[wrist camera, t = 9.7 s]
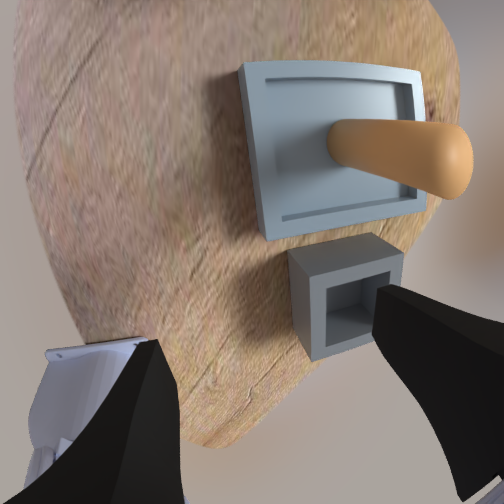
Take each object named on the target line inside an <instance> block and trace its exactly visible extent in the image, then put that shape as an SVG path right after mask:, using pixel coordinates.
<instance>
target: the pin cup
mask: <svg viewBox="0 0 504 504" xmlns="http://www.w3.org/2000/svg"><path fill="white" fill-rule="evenodd" d="M287 256H288V267H289V280H290V293H291V306H292V321H293V329H294V331H295V333H296V335H297V336H298V338H299V340H300V342H301V344H302V346H303V347H304V349H305V351H306V353H307V355H308V357H309V359H310V360H311V362H313V361H316V360H319V359H323V358H326V357H329V356H332V355H335V354H338V353H341V352H344V351H347V350H350V349H353V348H356V347H359V346H362V345H364V344H367V343H370V342H373V341H375V340H374V338H373V337H372V335H371V334H372V327H373V320H374V312H375V303H376V294H377V288H380V287H383V286H386V285H389V284H393V285H397V286H400V285H401V277H402V268H403V258H404V253H403V252H402V251H400V250H399V249H397V248H396V247H394V246H392V245H391V244H389V243H388V242H386V241H384V240H383V239H381V238H380V237H378V236H376V235H375V234H373V233H372V232H370V233H366V234H361V235H356V236H351V237H347V238H342V239H337V240H332V241H328V242H323V243H318V244H313V245H308V246H304V247H299V248H294V249H289V250H287Z"/></svg>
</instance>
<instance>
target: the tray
mask: <svg viewBox="0 0 504 504" xmlns="http://www.w3.org/2000/svg"><path fill="white" fill-rule="evenodd" d="M237 72H238V79H239V86H240V93H241V100H242V107H243V114H244V122H245V129H246V136H247V144H248V151H249V158H250V166H251V173H252V181H253V188H254V196H255V204H256V211H257V219H258V227H259V231H260V233H261V234H262V235H263V237H264V238H265V240H266V241H272V240H277V239H282V238H287V237H293V236H298V235H303V234H308V233H313V232H318V231H323V230H328V229H333V228H338V227H344V226H349V225H354V224H359V223H364V222H369V221H375V220H380V219H385V218H390V217H396V216H401V215H406V214H411V213H417V212H422V211H426V198H427V192H425V191H422V190H419V189H416V188H414V187H411V186H408V185H405V184H402V183H399V182H396V181H393V180H390V179H387V178H383V177H380V176H377V175H374V174H370V173H367V172H364V171H360V170H357V169H353V168H350V167H346V166H343V165H340V164H338V163H337V162H335V161H334V160H333V159H332V157H331V156H330V154H329V152H328V149H327V135H328V132H329V130H330V128H331V127H332V126H333V124H335V123H336V122H337V121H339V120H342V119H391V120H411V121H425V109H424V98H423V89H422V81H421V74H420V72H419V71H414V70H408V69H402V68H396V67H389V66H381V65H373V64H364V63H353V62H339V61H315V60H284V61H260V62H245V63H243V64H242V65H241V66H240V68H239V69H238V70H237Z"/></svg>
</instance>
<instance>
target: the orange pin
mask: <svg viewBox="0 0 504 504" xmlns="http://www.w3.org/2000/svg"><path fill="white" fill-rule="evenodd" d="M327 149H328V152H329V154H330V156H331V157H332V159H333V160H334V161H335V162H337V163H338V164H340V165H343V166H346V167H350V168H353V169H357V170H360V171H364V172H367V173H370V174H374V175H377V176H380V177H383V178H387V179H390V180H393V181H396V182H399V183H402V184H405V185H408V186H411V187H414V188H416V189H419V190H422V191H425V192H428V193H430V194H433V195H436V196H438V197H441V198H444V199H447V200H451V199H455V198H457V197H458V196H460V195H461V194H462V193H463V192H464V190H465V189H466V187H467V185H468V183H469V181H470V179H471V175H472V171H473V151H472V146H471V143H470V140H469V138H468V136H467V134H466V133H465V132H464V130H463V129H462V128H460V127H459V126H457V125H454V124H446V123H436V122H425V121H411V120H391V119H342V120H339V121H337V122H336V123H335V124H333V126H332V127H331V128H330V130H329V132H328V135H327Z"/></svg>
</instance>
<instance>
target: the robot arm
mask: <svg viewBox="0 0 504 504" xmlns="http://www.w3.org/2000/svg"><path fill="white" fill-rule="evenodd" d="M371 335H372V337H373V338H374V340H375V342H376V344H377V346H378V347H379V349H380V351H381V353H382V354H383V356H384V358H385V359H386V360H387V362H388V363H389V364H390V366H391V367H392V368H393V370H394V371H395V372H396V374H397V375H398V376H399V378H400V379H401V380H402V381H403V383H404V384H405V385H406V387H407V388H408V389H409V391H410V392H411V393H412V395H413V396H414V397H415V399H416V400H417V402H418V403H419V404H420V406H421V408H422V409H423V411H424V413H425V414H426V416H427V418H428V420H429V422H430V423H431V425H432V427H433V429H434V431H435V433H436V436H437V438H438V440H439V442H440V444H441V446H442V448H443V451H444V454H445V456H446V459H447V461H448V464H449V466H450V469H451V473H452V476H453V479H454V482H455V486H456V490H457V494H458V496H459V498H460V499H461V501H462V502H464V501H466V500H467V499H469V498H470V497H471V496H473V495H474V494H475V493H477V492H478V491H479V490H481V489H482V488H483V487H485V486H486V485H487V484H488V483H490V482H491V481H492V480H493V479H494V478H495V477H496V476H498V475H499V476H500V477H501V479H502V481H501V482H500V483H499V484H498V485H497V486H495V487H494V488H493V489H492V490H491V491H490V492H488V493H487V494H486V495H485V496H484V497H483V498H481V499H480V500H479V501H478V502H477V503H475V504H504V323H501V322H497V321H493V320H490V319H485V318H482V317H479V316H476V315H473V314H470V313H467V312H464V311H461V310H459V309H456V308H453V307H451V306H448V305H446V304H443V303H440V302H438V301H435V300H433V299H431V298H428V297H426V296H423V295H421V294H418V293H416V292H413V291H411V290H408V289H405V288H402V287H400V286H397V285H393V284H389V285H386V286H383V287H380V288H377V294H376V303H375V312H374V320H373V327H372V334H371ZM134 343H137V344H138V345H134ZM58 353H59V354H58ZM60 354H61V355H60ZM45 356H46V358H47V360H48V361H49V364H48V366H47V368H46V371H45V373H44V376H43V378H42V380H41V383H40V386H39V388H38V391H37V393H36V396H35V398H34V401H33V404H32V406H31V409H30V413H29V420H28V425H29V434H30V438H31V442H32V445H33V446H34V451H33V454H32V457H31V460H30V464H29V467H28V471H27V475H26V479H25V484H24V489H23V490H22V491H21V492H20V493H18V494H17V495H15V496H14V497H12V498H11V499H9V500H8V501H7V502H5V503H3V504H190V503H189V501H188V500H187V498H186V497H185V496H184V495H183V489H182V483H181V473H180V409H179V400H178V391H177V383H176V381H175V379H174V377H173V374H172V372H171V370H170V367H169V365H168V363H167V360H166V358H165V356H164V353H163V351H162V349H161V346H160V344H159V341H158V339H155V340H148V339H147V338H145V337H137V338H131V339H124V340H118V341H111V342H104V343H97V344H89V345H82V346H74V347H65V348H56V349H48V350H46V352H45Z"/></svg>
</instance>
